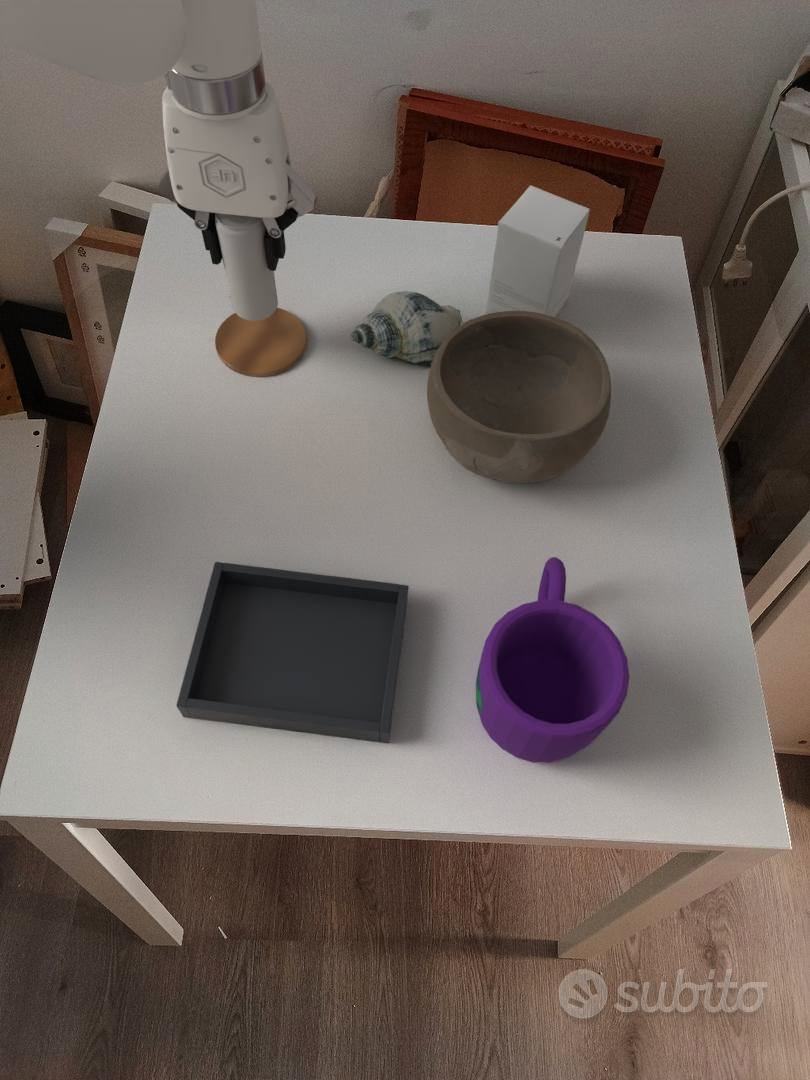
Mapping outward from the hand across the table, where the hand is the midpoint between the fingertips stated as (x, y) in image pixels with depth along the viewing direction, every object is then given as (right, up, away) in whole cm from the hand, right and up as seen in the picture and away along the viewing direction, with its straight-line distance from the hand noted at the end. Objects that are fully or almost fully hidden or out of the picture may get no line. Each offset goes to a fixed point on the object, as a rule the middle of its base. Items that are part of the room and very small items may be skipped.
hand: (247, 256), depth 81 cm
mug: (+27, -40, -8) cm, 49 cm away
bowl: (+26, -17, +5) cm, 32 cm away
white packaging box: (+30, -1, +15) cm, 33 cm away
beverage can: (0, -3, +6) cm, 7 cm away
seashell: (+16, -6, +11) cm, 20 cm away
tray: (+6, -38, -8) cm, 39 cm away
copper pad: (0, -6, +10) cm, 12 cm away
